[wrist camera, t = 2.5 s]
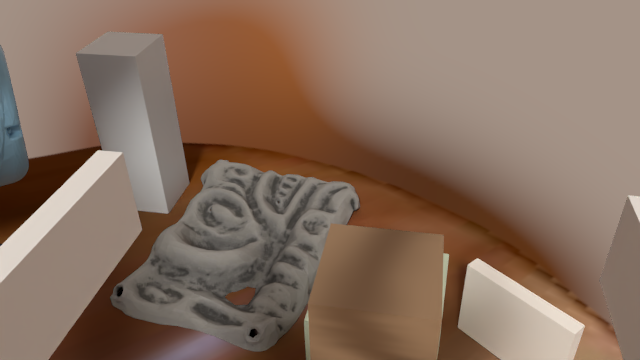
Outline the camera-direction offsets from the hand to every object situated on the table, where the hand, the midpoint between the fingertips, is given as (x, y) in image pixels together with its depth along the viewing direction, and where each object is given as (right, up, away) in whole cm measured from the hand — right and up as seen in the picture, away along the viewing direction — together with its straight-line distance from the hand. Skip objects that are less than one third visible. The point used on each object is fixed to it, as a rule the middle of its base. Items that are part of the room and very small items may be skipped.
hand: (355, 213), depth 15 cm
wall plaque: (-9, -6, +43) cm, 44 cm away
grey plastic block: (-20, -1, +50) cm, 54 cm away
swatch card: (+14, -13, +30) cm, 36 cm away
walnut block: (+2, -18, +23) cm, 29 cm away
